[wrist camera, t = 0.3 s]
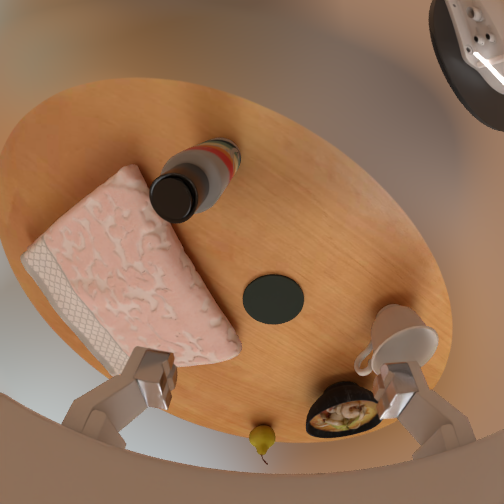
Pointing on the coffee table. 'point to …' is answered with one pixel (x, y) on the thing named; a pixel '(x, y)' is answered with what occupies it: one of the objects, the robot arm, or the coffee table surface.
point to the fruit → (262, 439)
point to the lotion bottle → (194, 179)
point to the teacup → (397, 339)
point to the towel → (128, 280)
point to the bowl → (342, 411)
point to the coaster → (273, 299)
